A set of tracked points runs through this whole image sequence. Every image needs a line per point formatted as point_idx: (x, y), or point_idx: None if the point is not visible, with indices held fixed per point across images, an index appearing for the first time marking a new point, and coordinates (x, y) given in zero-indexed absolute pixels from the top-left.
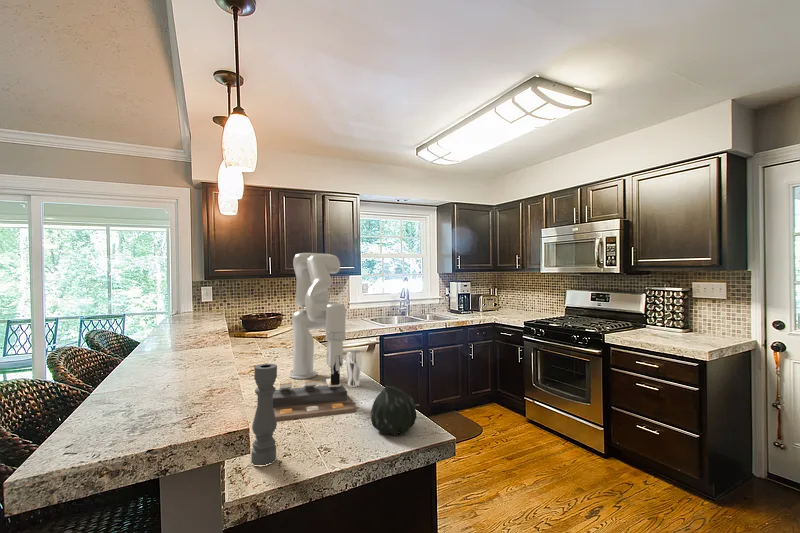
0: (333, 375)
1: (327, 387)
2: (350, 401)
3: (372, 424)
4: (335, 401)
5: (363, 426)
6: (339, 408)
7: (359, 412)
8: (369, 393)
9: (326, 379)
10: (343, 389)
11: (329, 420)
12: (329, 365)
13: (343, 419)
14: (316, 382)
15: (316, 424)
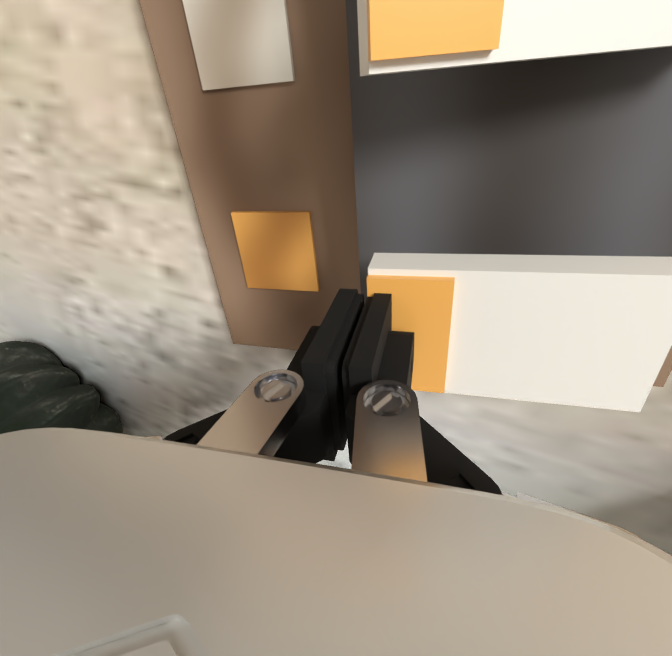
0: (309, 378)
1: (579, 244)
2: None
3: (5, 342)
4: None
5: (76, 311)
6: (234, 255)
7: (230, 344)
8: (524, 483)
9: (659, 275)
10: None
11: (114, 161)
12: (5, 455)
13: (137, 245)
14: (363, 66)
15: (43, 60)
